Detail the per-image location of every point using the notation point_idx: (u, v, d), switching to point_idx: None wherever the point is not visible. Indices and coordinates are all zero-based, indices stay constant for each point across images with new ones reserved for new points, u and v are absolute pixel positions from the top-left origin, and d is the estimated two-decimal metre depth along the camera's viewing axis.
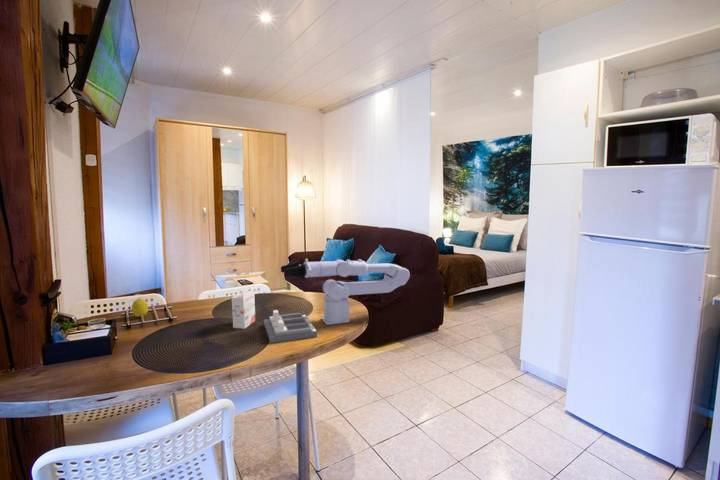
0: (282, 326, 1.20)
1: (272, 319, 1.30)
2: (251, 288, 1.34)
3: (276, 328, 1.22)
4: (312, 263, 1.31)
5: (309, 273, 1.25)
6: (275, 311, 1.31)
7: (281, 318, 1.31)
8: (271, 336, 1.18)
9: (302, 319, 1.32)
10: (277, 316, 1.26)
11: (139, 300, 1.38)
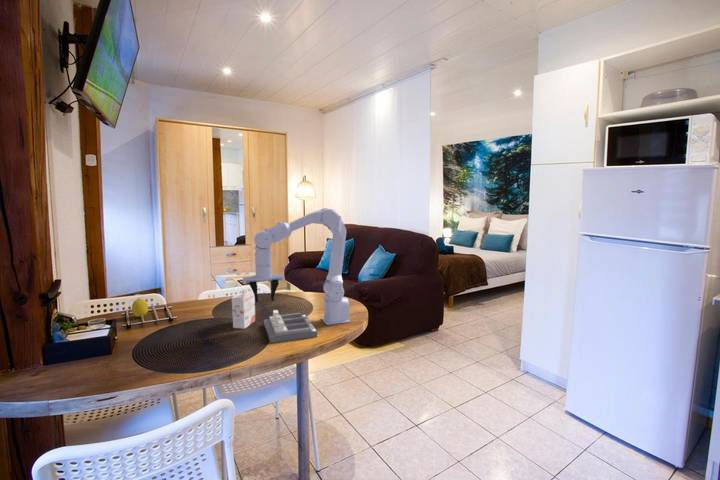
0: (282, 326, 1.20)
1: (272, 319, 1.30)
2: (251, 288, 1.34)
3: (276, 328, 1.22)
4: None
5: (243, 280, 1.25)
6: (275, 311, 1.31)
7: (281, 318, 1.31)
8: (271, 336, 1.18)
9: (302, 319, 1.32)
10: (277, 316, 1.26)
11: (139, 300, 1.38)
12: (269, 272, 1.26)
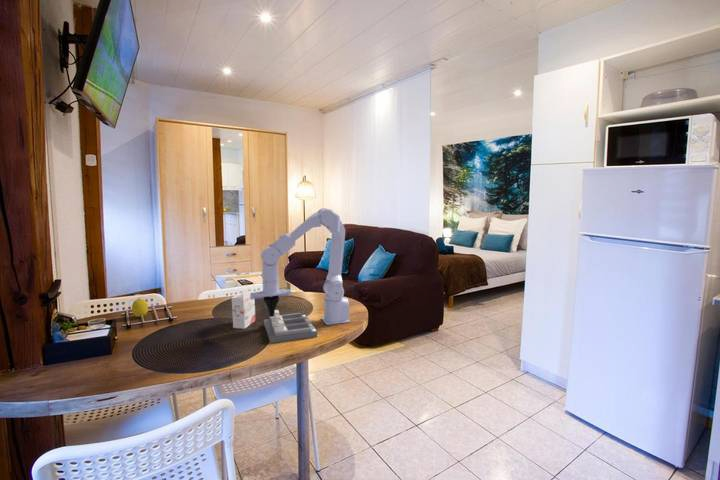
0: (282, 326, 1.20)
1: (273, 319, 1.30)
2: (251, 288, 1.34)
3: (276, 328, 1.22)
4: None
5: (250, 296, 1.27)
6: (276, 311, 1.31)
7: (282, 318, 1.31)
8: (271, 336, 1.18)
9: (302, 319, 1.32)
10: (277, 316, 1.26)
11: (139, 300, 1.38)
12: (276, 288, 1.28)
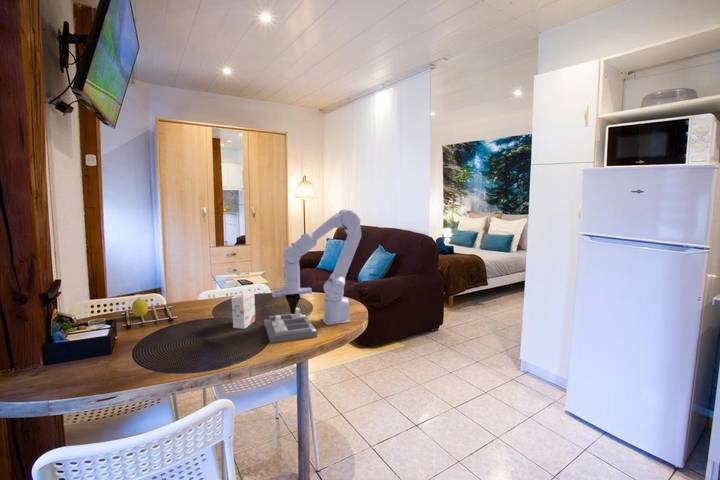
0: (282, 326, 1.20)
1: (294, 316, 1.33)
2: (251, 288, 1.34)
3: (276, 328, 1.22)
4: None
5: (272, 294, 1.30)
6: (297, 309, 1.34)
7: (302, 315, 1.34)
8: (271, 336, 1.18)
9: (302, 319, 1.32)
10: (277, 316, 1.26)
11: (139, 300, 1.38)
12: (298, 286, 1.31)
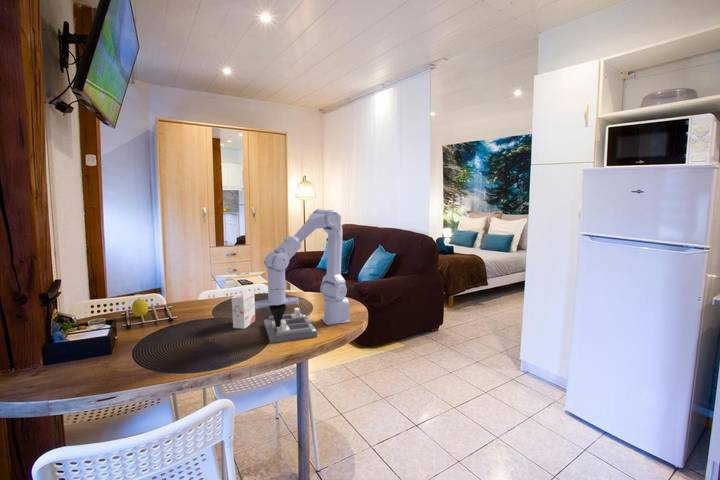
0: (285, 326, 1.20)
1: (294, 316, 1.33)
2: (251, 288, 1.34)
3: (279, 328, 1.22)
4: None
5: (255, 305, 1.17)
6: (296, 309, 1.34)
7: (302, 315, 1.34)
8: (271, 336, 1.18)
9: (302, 319, 1.32)
10: None
11: (139, 300, 1.38)
12: (283, 296, 1.18)
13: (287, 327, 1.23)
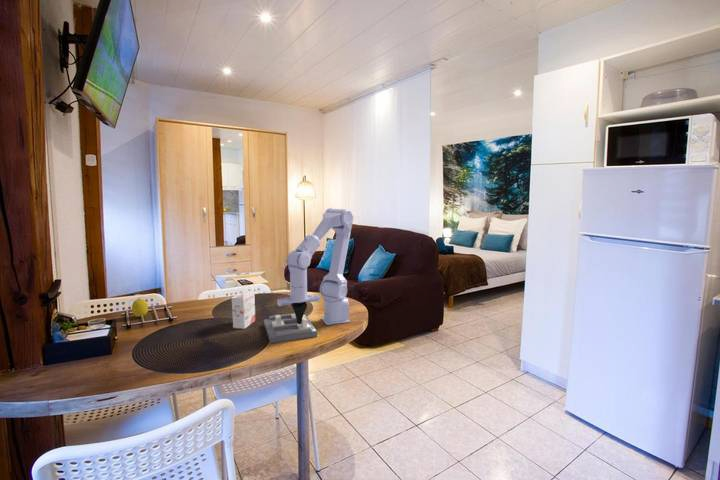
0: (306, 323, 1.23)
1: (294, 316, 1.33)
2: (251, 288, 1.34)
3: (299, 325, 1.25)
4: None
5: (278, 303, 1.19)
6: None
7: None
8: (271, 336, 1.18)
9: None
10: (277, 316, 1.26)
11: (139, 300, 1.38)
12: (305, 293, 1.21)
13: (307, 324, 1.25)
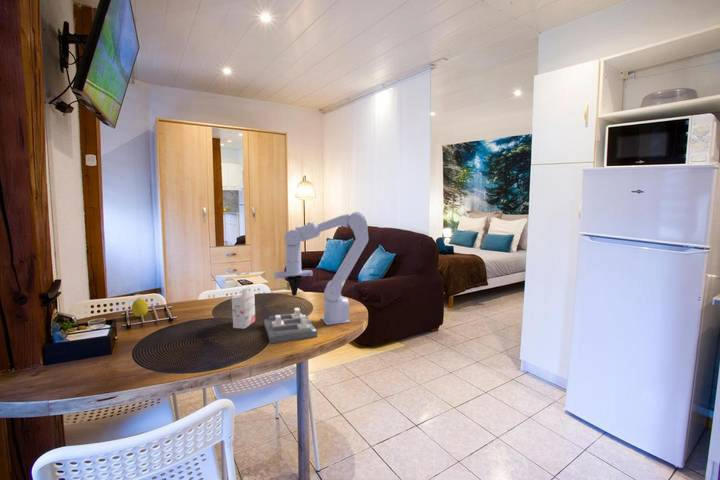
0: (305, 323, 1.23)
1: (294, 316, 1.33)
2: (251, 288, 1.34)
3: (299, 325, 1.24)
4: None
5: None
6: (296, 309, 1.34)
7: (302, 315, 1.34)
8: (271, 336, 1.18)
9: None
10: (277, 316, 1.26)
11: (139, 300, 1.38)
12: (299, 268, 1.35)
13: (307, 324, 1.25)
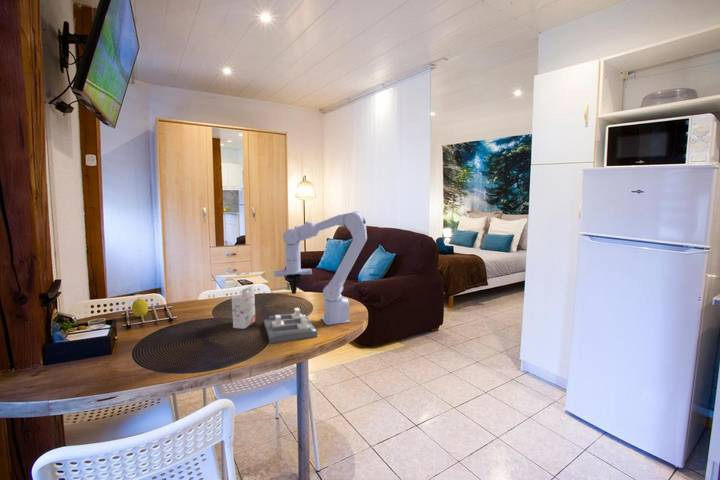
0: (305, 323, 1.23)
1: (294, 316, 1.33)
2: (251, 288, 1.34)
3: (299, 325, 1.24)
4: None
5: (274, 274, 1.35)
6: (296, 309, 1.34)
7: (302, 315, 1.34)
8: (271, 336, 1.18)
9: None
10: (277, 316, 1.26)
11: (139, 300, 1.38)
12: (298, 266, 1.37)
13: (307, 324, 1.25)
